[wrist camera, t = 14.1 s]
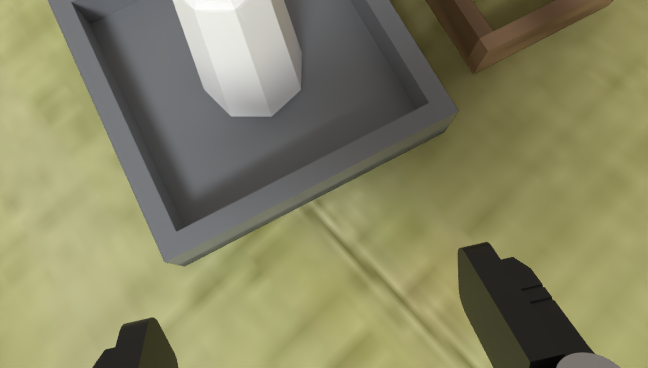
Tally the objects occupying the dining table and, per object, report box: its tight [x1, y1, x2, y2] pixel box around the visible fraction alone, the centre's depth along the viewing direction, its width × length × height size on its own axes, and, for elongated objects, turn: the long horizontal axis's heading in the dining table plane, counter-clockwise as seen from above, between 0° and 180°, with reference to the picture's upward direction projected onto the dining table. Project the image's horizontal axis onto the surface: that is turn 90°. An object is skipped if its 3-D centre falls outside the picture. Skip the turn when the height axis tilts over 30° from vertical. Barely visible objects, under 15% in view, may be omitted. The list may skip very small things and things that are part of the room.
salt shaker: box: [173, 0, 302, 117], centre depth 20 cm, size 5×5×11 cm
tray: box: [48, 0, 458, 266], centre depth 25 cm, size 15×15×3 cm
